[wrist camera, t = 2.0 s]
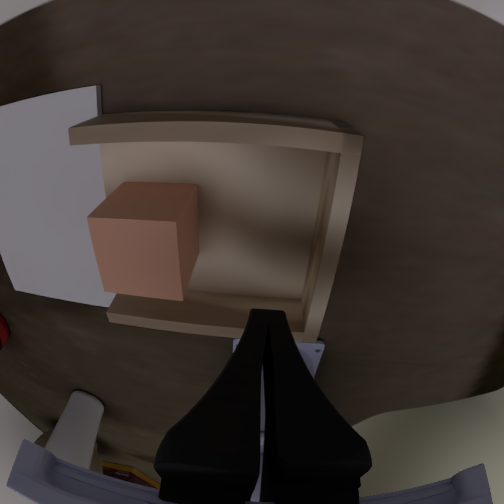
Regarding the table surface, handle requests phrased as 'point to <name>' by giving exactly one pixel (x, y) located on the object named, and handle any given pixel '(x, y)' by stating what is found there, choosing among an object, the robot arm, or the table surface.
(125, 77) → the table surface
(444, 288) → the table surface
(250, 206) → the open box
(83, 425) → the drinking glass
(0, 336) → the canned food
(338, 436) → the robot arm
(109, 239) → the block
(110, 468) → the supplement box
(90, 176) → the mat
